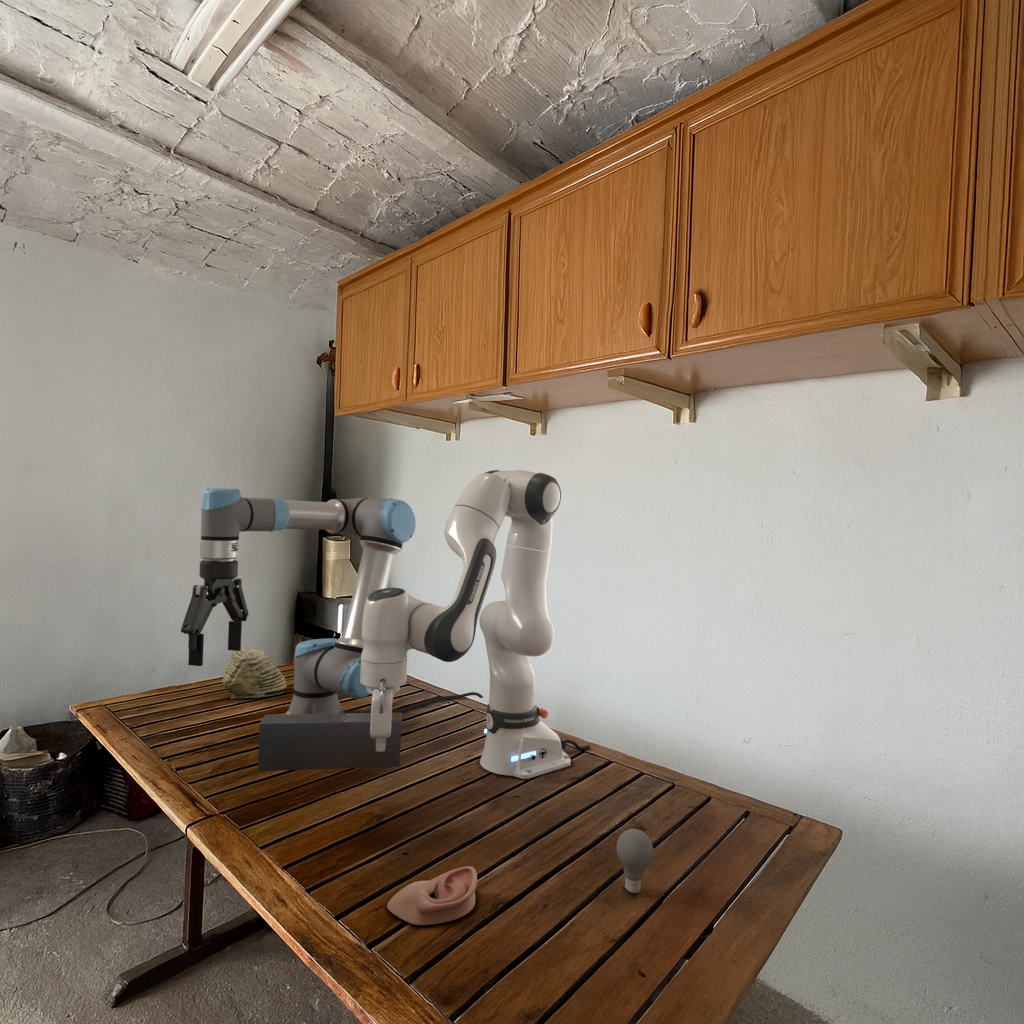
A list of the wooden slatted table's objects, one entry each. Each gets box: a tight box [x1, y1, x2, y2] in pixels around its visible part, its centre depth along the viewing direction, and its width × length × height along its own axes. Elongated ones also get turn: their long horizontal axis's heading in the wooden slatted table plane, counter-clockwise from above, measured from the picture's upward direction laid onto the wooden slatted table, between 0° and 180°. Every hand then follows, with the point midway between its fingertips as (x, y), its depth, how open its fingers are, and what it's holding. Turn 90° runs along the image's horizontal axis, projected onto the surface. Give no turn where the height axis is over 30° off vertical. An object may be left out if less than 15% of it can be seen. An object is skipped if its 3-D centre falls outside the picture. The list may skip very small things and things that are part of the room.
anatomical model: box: [386, 865, 478, 926], centre depth 100 cm, size 13×4×12 cm
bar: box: [257, 712, 403, 772], centre depth 121 cm, size 26×5×9 cm, turn 100°
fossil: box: [222, 646, 288, 699], centre depth 198 cm, size 9×18×15 cm, turn 132°
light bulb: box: [615, 828, 654, 894], centre depth 106 cm, size 6×6×10 cm
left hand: (215, 657), depth 137 cm, fingers open, 13 cm apart
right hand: (381, 743), depth 123 cm, fingers closed on bar, 5 cm apart
